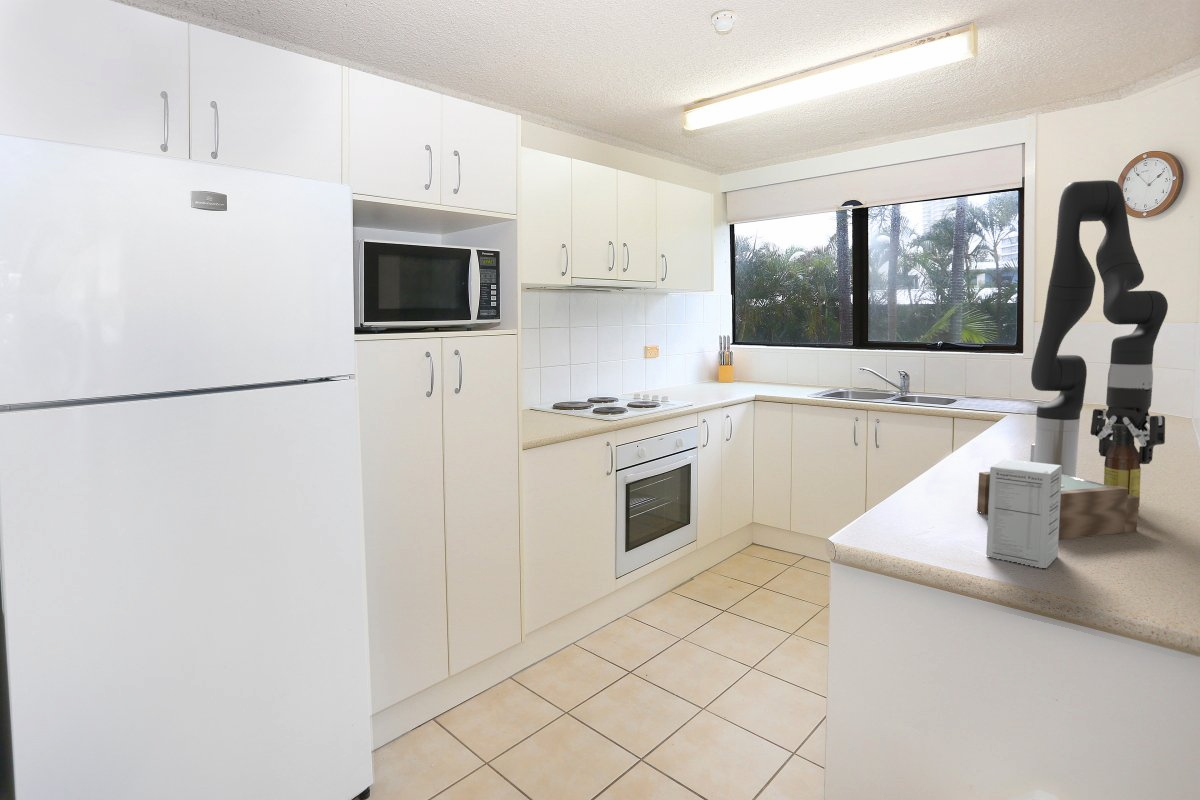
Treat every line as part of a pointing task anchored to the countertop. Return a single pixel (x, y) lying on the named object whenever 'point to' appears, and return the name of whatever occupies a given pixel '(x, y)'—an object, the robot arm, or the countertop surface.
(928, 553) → the countertop surface
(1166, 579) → the countertop surface
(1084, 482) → the trapdoor
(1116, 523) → the frame
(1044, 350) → the robot arm
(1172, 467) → the countertop surface
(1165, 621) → the countertop surface
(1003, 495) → the supplement box
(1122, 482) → the sauce bottle
